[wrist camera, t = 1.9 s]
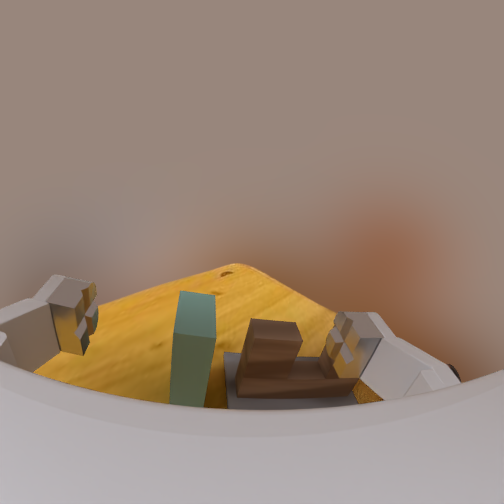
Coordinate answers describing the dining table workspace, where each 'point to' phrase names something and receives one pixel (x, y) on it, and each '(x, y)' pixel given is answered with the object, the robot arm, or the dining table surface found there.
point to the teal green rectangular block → (192, 348)
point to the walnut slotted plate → (282, 372)
